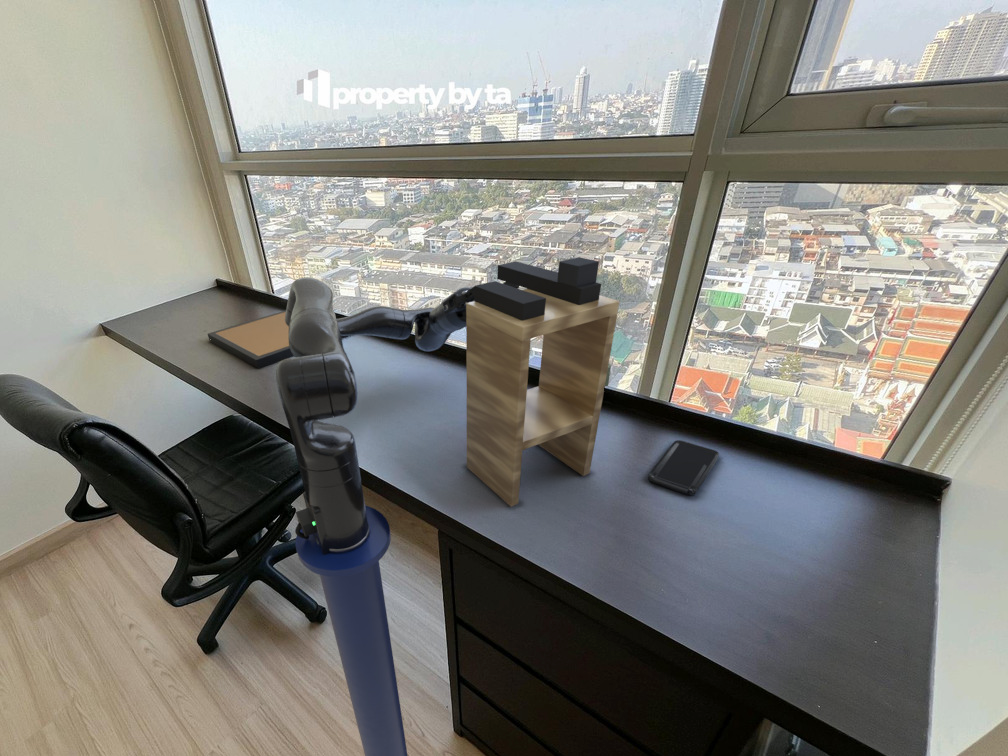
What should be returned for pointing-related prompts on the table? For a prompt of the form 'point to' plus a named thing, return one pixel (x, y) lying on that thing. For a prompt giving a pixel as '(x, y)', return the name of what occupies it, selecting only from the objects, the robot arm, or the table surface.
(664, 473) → the phone
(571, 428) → the shelf
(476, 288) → the pad
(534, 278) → the pad
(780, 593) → the table surface
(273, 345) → the cork board
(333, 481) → the robot arm
